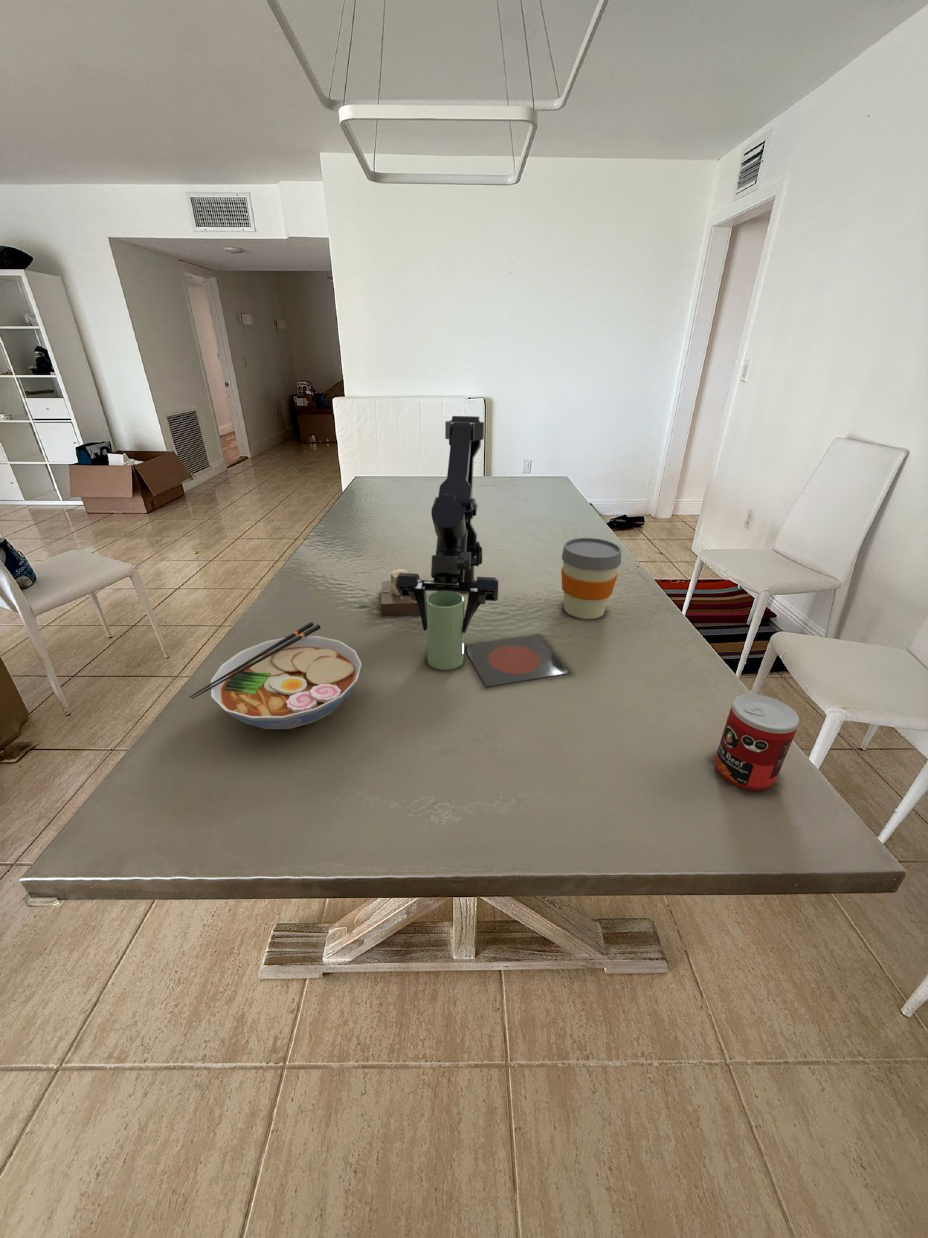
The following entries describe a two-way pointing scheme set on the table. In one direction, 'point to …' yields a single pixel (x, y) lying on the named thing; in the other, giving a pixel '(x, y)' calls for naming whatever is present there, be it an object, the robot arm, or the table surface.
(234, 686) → the ramen bowl
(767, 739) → the canned food
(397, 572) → the cream jar candle
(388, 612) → the brown flat block
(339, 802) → the table surface
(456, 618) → the tumbler
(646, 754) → the table surface
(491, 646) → the hob
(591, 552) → the reusable coffee cup
